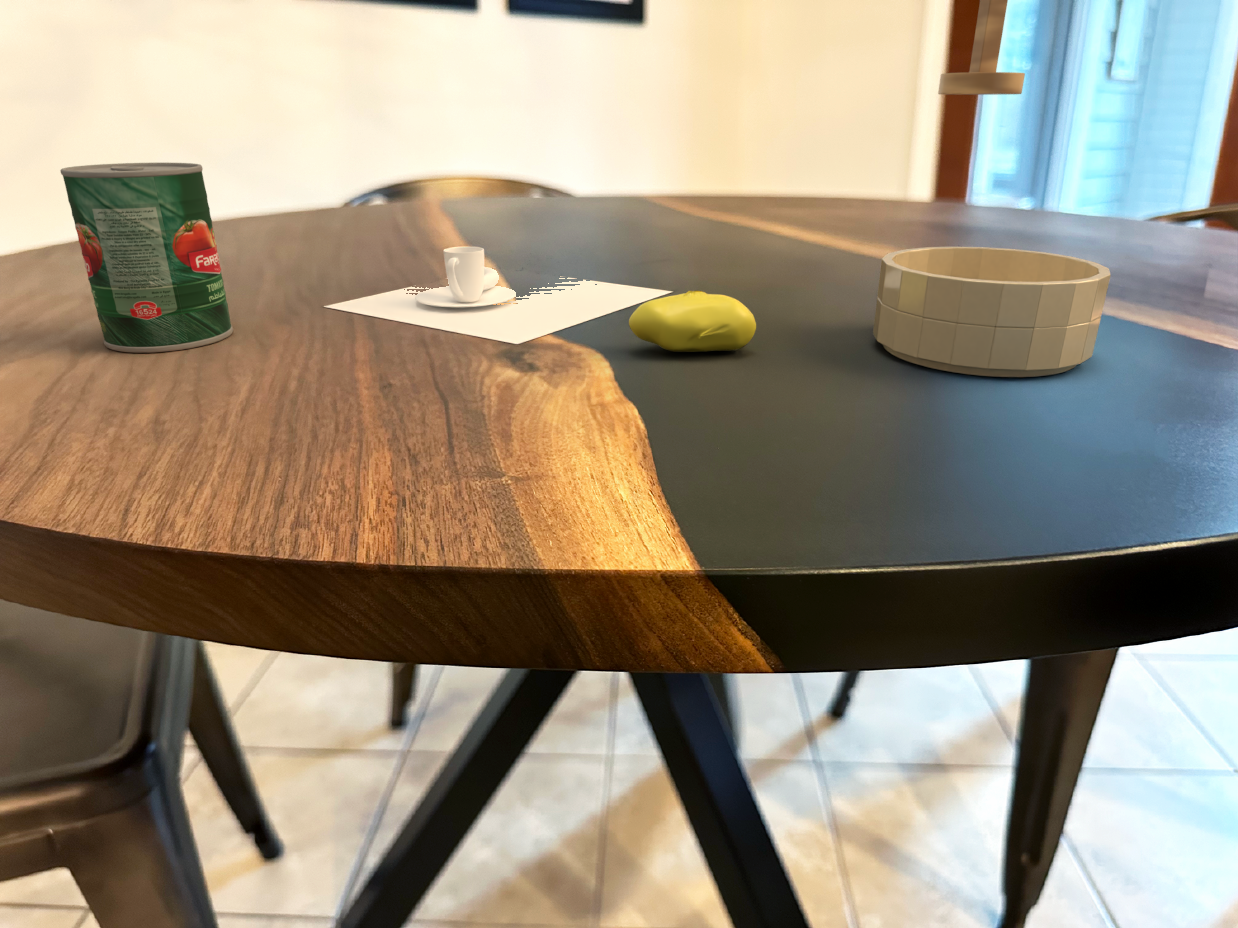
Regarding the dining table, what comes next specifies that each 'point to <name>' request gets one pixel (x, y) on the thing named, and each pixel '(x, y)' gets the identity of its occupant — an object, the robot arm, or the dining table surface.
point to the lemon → (694, 322)
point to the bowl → (989, 309)
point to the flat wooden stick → (985, 59)
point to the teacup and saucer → (496, 302)
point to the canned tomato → (149, 254)
